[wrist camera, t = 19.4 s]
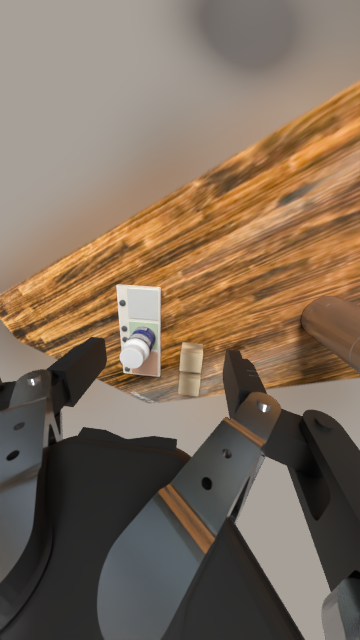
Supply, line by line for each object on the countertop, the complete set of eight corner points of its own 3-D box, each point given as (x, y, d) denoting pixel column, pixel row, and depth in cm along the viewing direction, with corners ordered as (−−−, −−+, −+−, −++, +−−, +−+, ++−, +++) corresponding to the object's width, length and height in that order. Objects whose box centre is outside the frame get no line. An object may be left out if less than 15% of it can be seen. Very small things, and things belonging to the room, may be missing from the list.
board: (161, 287, 41) (160, 288, 40) (160, 374, 50) (159, 377, 49) (118, 284, 42) (115, 285, 40) (125, 370, 51) (123, 373, 49)
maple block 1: (202, 344, 45) (203, 354, 41) (200, 360, 47) (200, 373, 43) (182, 341, 46) (180, 352, 41) (181, 358, 48) (179, 370, 43)
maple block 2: (200, 367, 48) (200, 380, 43) (198, 382, 50) (198, 396, 45) (181, 365, 48) (179, 377, 44) (179, 380, 50) (178, 393, 46)
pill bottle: (147, 350, 46) (134, 376, 37) (129, 336, 45) (111, 359, 36) (161, 335, 44) (151, 358, 35) (142, 320, 43) (127, 340, 34)
